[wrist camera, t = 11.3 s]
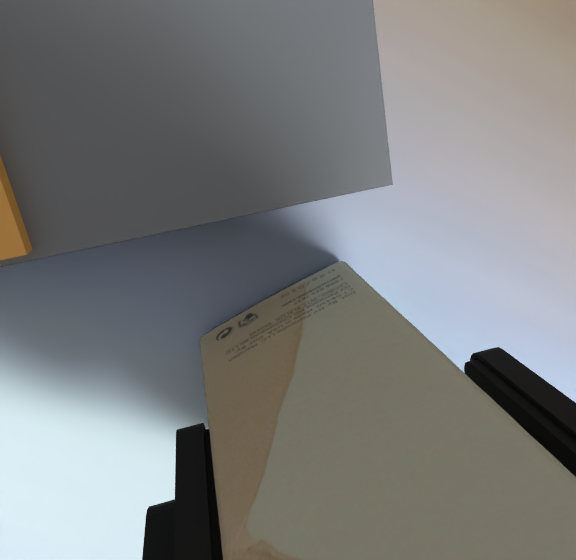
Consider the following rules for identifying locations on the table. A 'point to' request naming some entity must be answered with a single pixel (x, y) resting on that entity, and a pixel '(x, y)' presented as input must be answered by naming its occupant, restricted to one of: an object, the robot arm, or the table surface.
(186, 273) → the table surface
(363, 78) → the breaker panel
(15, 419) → the table surface
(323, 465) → the box
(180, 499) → the robot arm
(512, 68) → the table surface
